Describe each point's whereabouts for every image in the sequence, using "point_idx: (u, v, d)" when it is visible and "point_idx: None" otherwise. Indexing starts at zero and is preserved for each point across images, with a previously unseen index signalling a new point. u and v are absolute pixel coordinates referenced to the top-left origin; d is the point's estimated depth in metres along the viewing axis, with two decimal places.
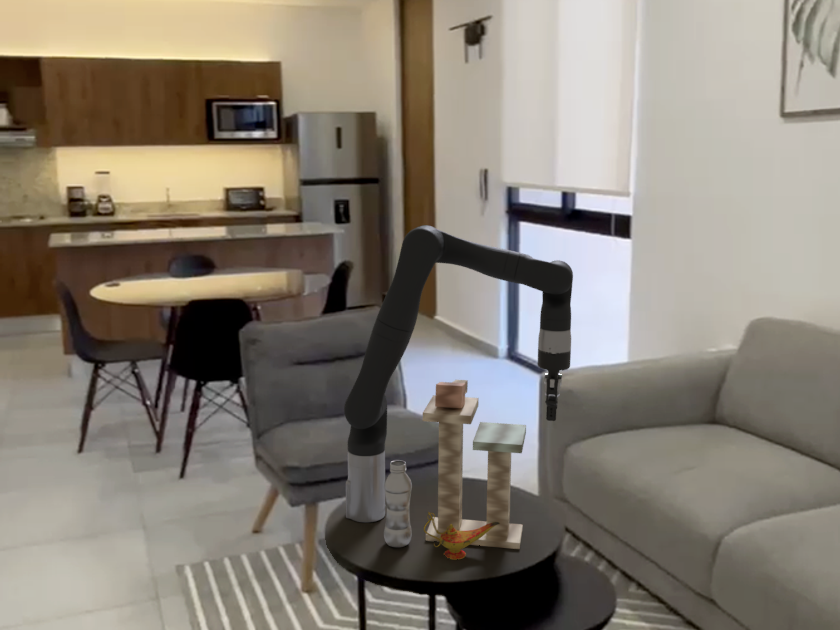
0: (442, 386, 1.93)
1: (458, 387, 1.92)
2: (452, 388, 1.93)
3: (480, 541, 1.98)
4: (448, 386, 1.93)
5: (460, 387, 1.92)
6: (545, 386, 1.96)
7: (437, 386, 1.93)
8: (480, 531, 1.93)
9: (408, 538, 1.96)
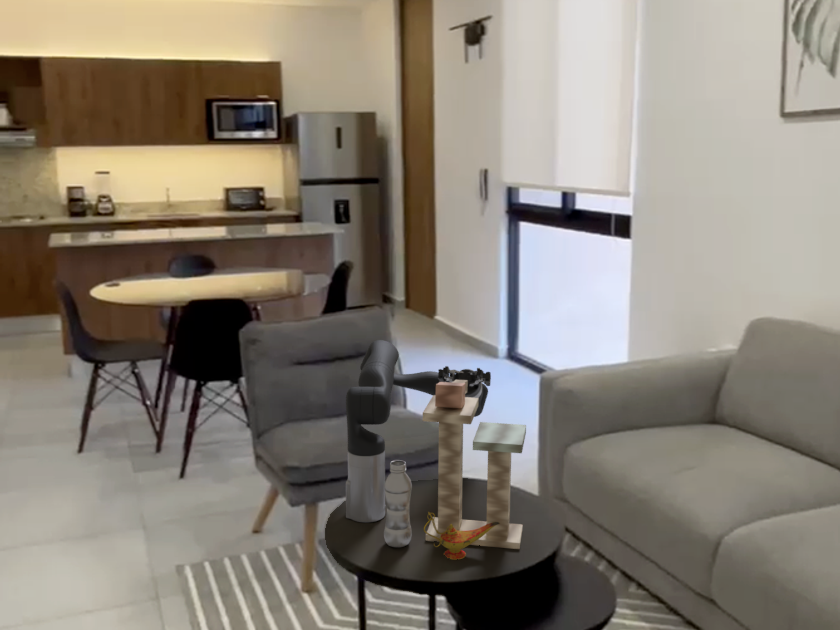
0: (442, 386, 1.93)
1: (458, 387, 1.92)
2: (452, 388, 1.93)
3: (480, 541, 1.98)
4: (448, 386, 1.93)
5: (460, 387, 1.92)
6: None
7: (437, 386, 1.93)
8: (480, 531, 1.93)
9: (408, 538, 1.96)
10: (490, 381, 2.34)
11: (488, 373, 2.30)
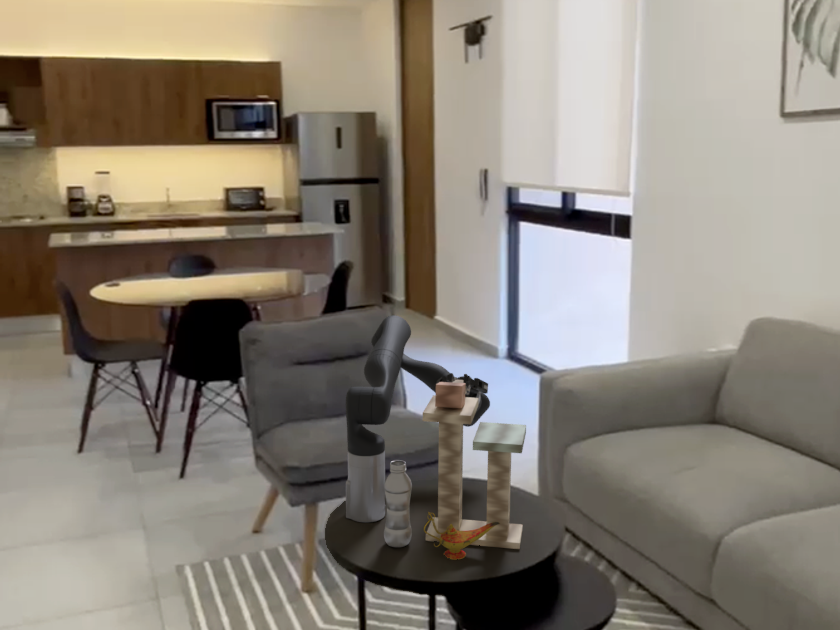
0: (442, 386, 1.93)
1: (458, 387, 1.92)
2: (452, 388, 1.93)
3: (480, 541, 1.98)
4: (448, 386, 1.93)
5: (460, 387, 1.92)
6: None
7: (437, 386, 1.93)
8: (480, 531, 1.93)
9: (408, 538, 1.96)
10: (487, 388, 2.14)
11: (476, 379, 2.10)
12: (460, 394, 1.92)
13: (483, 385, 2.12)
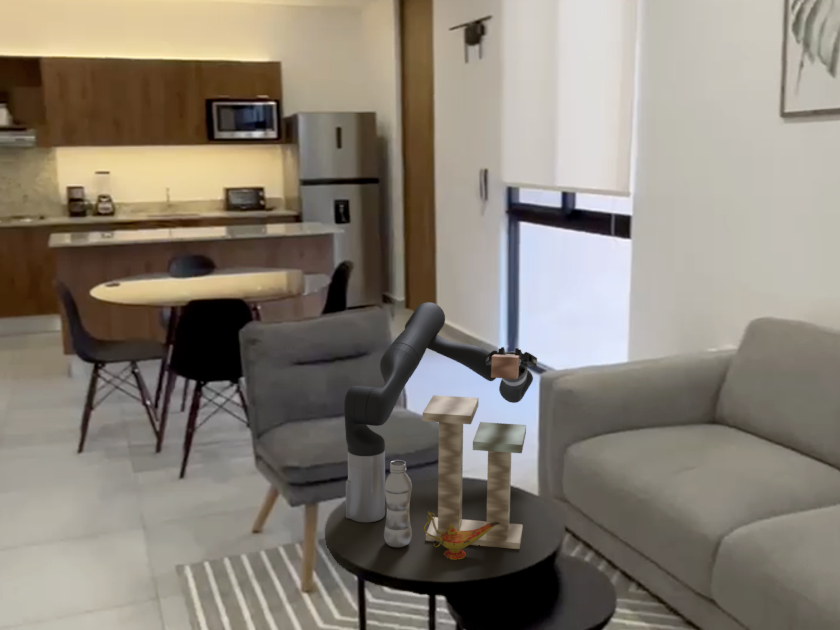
0: (498, 358, 1.99)
1: (513, 359, 1.98)
2: (508, 360, 1.99)
3: (480, 541, 1.98)
4: (504, 358, 1.99)
5: (515, 359, 1.98)
6: None
7: (493, 358, 1.99)
8: (480, 531, 1.93)
9: (408, 538, 1.96)
10: (536, 362, 2.20)
11: (526, 353, 2.16)
12: (515, 365, 1.98)
13: (532, 359, 2.18)
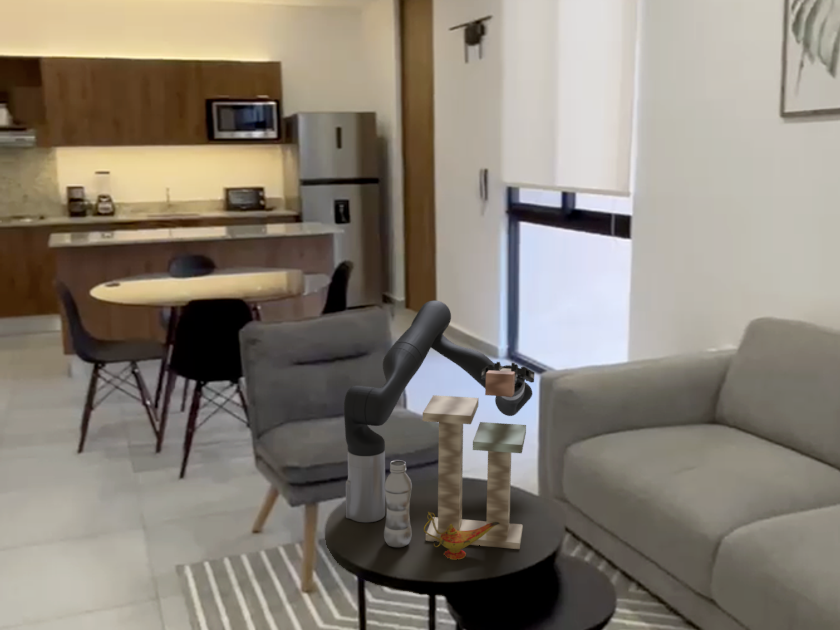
0: (492, 374, 1.90)
1: (509, 375, 1.90)
2: (503, 377, 1.90)
3: (480, 541, 1.98)
4: (498, 374, 1.90)
5: (511, 375, 1.89)
6: None
7: (487, 374, 1.90)
8: (480, 531, 1.93)
9: (408, 538, 1.96)
10: (533, 377, 2.11)
11: (523, 368, 2.07)
12: (511, 383, 1.90)
13: (530, 374, 2.10)
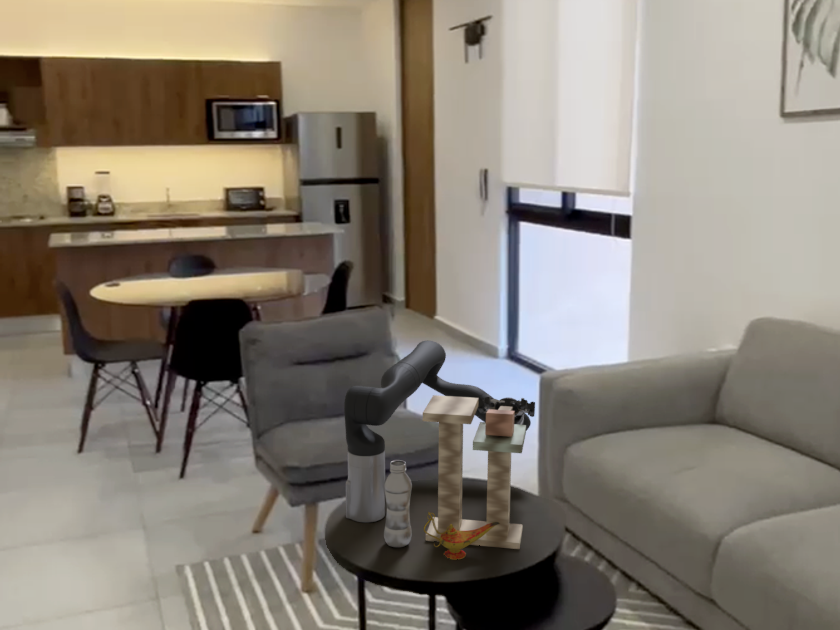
0: (492, 414, 1.92)
1: (509, 415, 1.91)
2: (503, 416, 1.92)
3: (480, 541, 1.98)
4: (498, 414, 1.92)
5: (511, 415, 1.91)
6: None
7: (487, 414, 1.92)
8: (480, 531, 1.93)
9: (408, 538, 1.96)
10: None
11: (533, 403, 2.10)
12: (511, 422, 1.91)
13: None
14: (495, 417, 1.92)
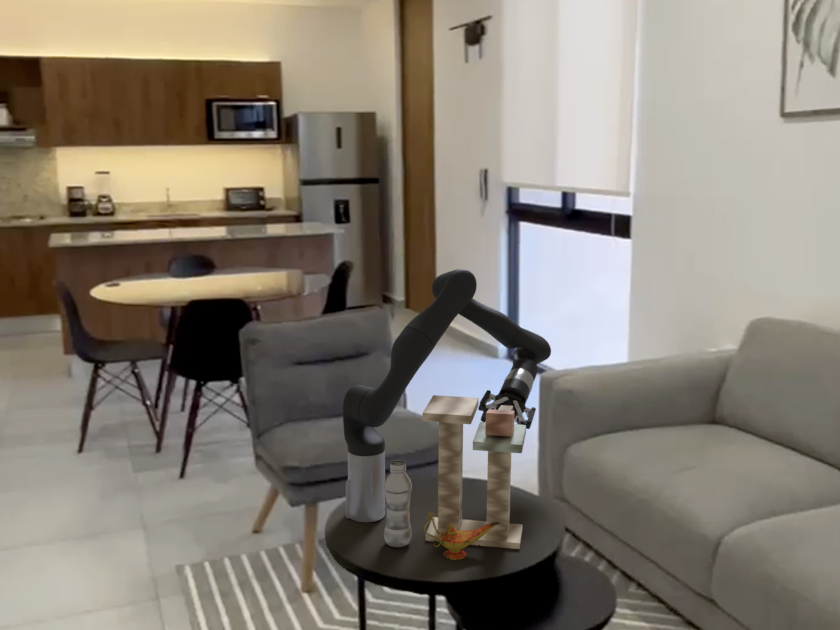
0: (492, 414, 1.92)
1: (509, 415, 1.91)
2: (503, 416, 1.92)
3: (480, 541, 1.98)
4: (498, 414, 1.92)
5: (511, 415, 1.91)
6: None
7: (487, 414, 1.92)
8: (480, 531, 1.93)
9: (408, 538, 1.96)
10: None
11: (529, 423, 2.18)
12: (511, 422, 1.91)
13: None
14: (495, 417, 1.92)
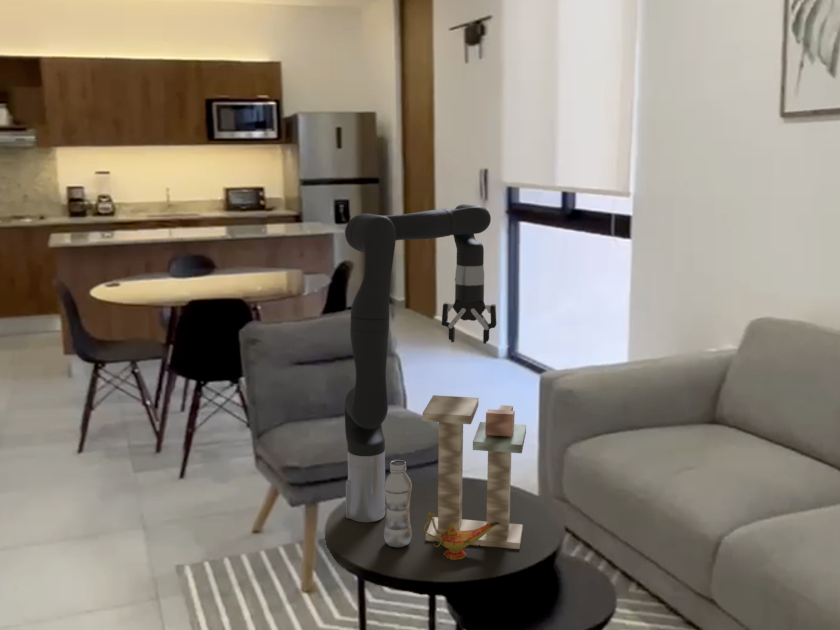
0: (492, 414, 1.92)
1: (509, 415, 1.91)
2: (503, 416, 1.92)
3: (480, 541, 1.98)
4: (498, 414, 1.92)
5: (511, 415, 1.91)
6: None
7: (487, 414, 1.92)
8: (480, 531, 1.93)
9: (408, 538, 1.96)
10: (495, 307, 2.22)
11: None
12: (511, 422, 1.91)
13: (495, 314, 2.22)
14: (495, 417, 1.92)
